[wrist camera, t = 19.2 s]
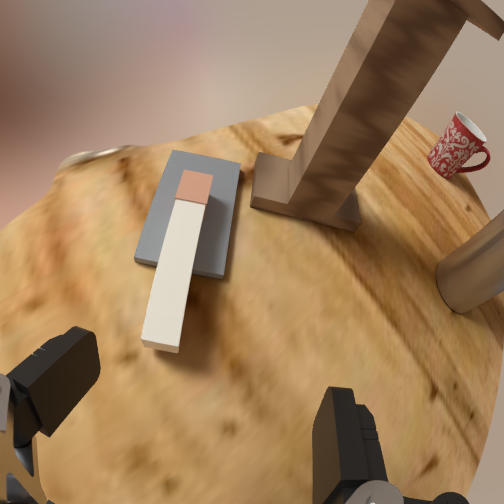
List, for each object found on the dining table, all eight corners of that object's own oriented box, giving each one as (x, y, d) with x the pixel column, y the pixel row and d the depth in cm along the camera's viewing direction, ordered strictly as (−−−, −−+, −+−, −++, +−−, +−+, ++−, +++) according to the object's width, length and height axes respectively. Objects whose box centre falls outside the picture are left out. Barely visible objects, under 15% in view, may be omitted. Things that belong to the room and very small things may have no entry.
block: (209, 194, 34) (213, 175, 31) (179, 353, 24) (179, 346, 22) (181, 189, 33) (184, 169, 31) (143, 346, 24) (139, 338, 21)
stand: (347, 187, 42) (465, 4, 15) (354, 238, 37) (514, 32, 11) (255, 162, 40) (344, -65, 13) (249, 213, 35) (370, -71, 8)
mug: (420, 160, 54) (455, 116, 43) (426, 146, 59) (456, 107, 48) (462, 199, 53) (499, 160, 41) (463, 181, 57) (496, 145, 46)
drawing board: (239, 168, 38) (240, 163, 38) (222, 279, 30) (223, 275, 29) (172, 155, 37) (172, 149, 36) (134, 261, 29) (134, 257, 28)
